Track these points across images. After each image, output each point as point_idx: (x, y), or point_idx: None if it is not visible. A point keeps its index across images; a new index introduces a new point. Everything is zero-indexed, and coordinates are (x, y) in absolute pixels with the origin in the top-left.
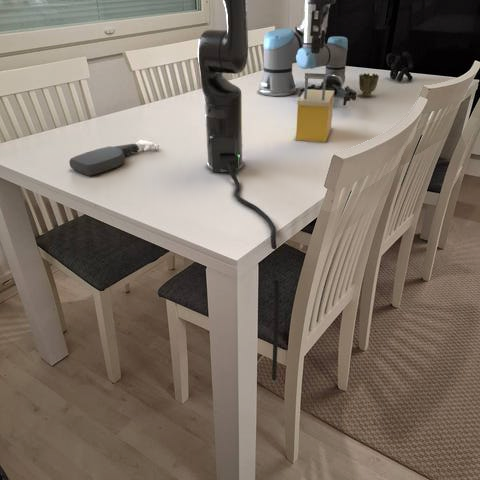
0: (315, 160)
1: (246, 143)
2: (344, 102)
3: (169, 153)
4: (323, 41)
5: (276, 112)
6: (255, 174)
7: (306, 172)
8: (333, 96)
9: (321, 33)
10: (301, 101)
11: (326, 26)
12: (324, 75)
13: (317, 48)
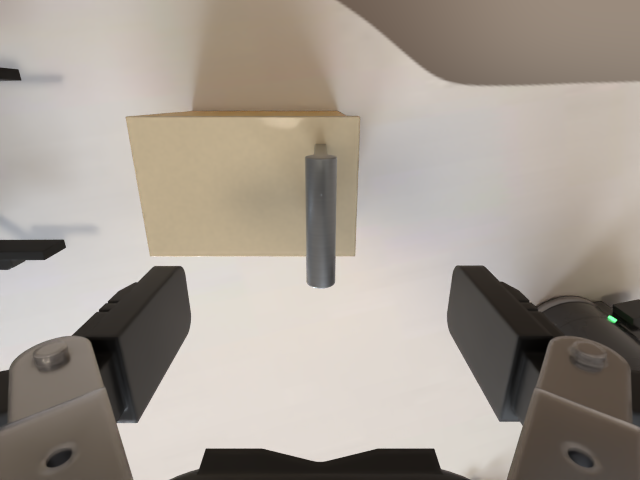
0: (504, 119)
1: (394, 327)
2: (9, 74)
3: (487, 453)
4: (160, 295)
5: (88, 315)
6: (609, 256)
7: (597, 131)
8: (159, 115)
9: (545, 370)
10: (354, 239)
11: (106, 395)
12: (335, 171)
13: (525, 297)
